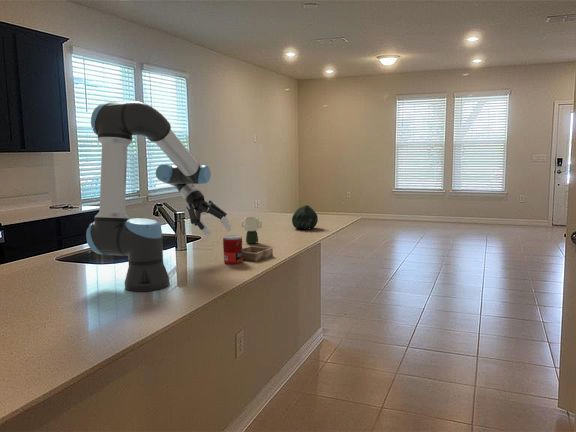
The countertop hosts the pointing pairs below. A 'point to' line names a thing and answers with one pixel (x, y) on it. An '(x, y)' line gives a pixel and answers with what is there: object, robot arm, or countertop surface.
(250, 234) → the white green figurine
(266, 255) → the crate
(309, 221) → the squash
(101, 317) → the countertop surface
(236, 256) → the canned food
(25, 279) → the countertop surface
